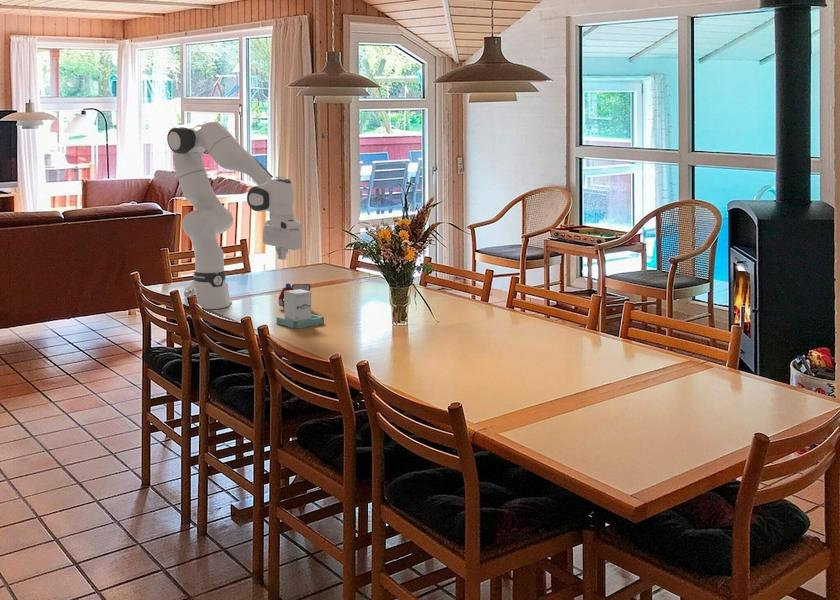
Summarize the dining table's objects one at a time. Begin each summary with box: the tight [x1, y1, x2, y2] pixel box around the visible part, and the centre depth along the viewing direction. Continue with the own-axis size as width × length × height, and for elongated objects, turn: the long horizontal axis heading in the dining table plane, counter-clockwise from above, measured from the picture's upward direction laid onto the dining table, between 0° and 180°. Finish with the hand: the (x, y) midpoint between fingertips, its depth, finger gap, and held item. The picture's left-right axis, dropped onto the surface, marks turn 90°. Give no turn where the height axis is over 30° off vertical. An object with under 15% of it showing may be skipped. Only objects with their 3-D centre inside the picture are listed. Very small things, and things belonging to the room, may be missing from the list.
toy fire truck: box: [278, 283, 311, 309], centre depth 368 cm, size 7×12×10 cm, turn 91°
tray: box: [275, 313, 325, 329], centre depth 343 cm, size 12×13×2 cm
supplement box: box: [283, 289, 312, 321], centre depth 340 cm, size 7×7×13 cm
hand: (281, 259), depth 347 cm, fingers closed
